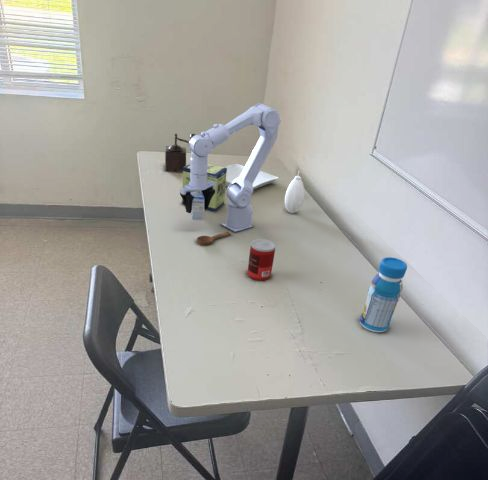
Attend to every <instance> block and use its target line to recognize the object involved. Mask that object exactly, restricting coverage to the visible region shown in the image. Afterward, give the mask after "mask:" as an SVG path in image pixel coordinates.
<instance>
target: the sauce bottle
mask: <svg viewBox="0 0 488 480" xmlns="http://www.w3.org/2000/svg"><path fill="white" fill-rule="evenodd" d="M304 201H305V186H304V182H303V180H302V177H301V176H300V171H298V172H297V175H295V176H294V178H293V179H292V180H291V182H290V183H289V185H288V186H287V188H286V192H285V194H284V206H285V209H286V210H287V211H288V212H289V213H290V214H294V213H297V212H298V211H299V210H300V209H301V208H302V206H303V204H304Z"/></svg>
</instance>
